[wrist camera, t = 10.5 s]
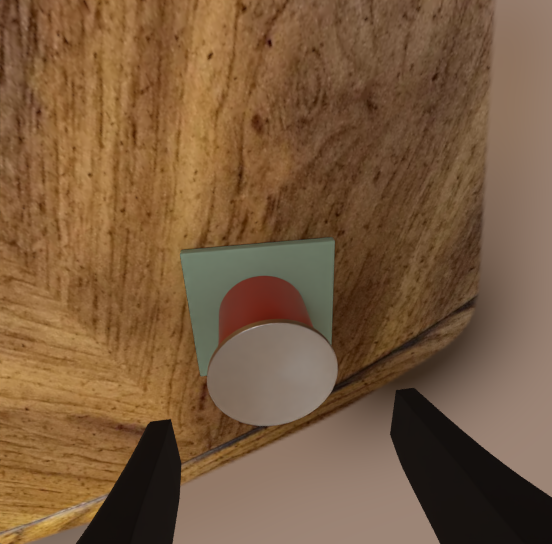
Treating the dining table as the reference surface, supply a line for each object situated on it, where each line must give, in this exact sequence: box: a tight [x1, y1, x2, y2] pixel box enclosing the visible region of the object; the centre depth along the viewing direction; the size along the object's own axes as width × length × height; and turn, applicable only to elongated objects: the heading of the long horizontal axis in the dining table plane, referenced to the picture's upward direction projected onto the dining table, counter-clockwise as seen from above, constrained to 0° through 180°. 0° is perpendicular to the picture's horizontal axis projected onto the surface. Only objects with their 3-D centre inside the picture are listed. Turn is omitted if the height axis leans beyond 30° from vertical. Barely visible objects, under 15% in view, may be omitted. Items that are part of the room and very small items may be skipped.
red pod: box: [207, 276, 338, 426], centre depth 16 cm, size 5×5×5 cm
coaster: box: [180, 237, 335, 376], centre depth 18 cm, size 7×7×1 cm
